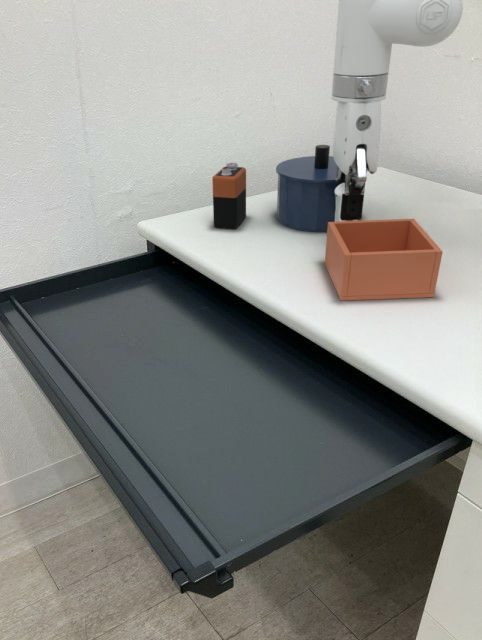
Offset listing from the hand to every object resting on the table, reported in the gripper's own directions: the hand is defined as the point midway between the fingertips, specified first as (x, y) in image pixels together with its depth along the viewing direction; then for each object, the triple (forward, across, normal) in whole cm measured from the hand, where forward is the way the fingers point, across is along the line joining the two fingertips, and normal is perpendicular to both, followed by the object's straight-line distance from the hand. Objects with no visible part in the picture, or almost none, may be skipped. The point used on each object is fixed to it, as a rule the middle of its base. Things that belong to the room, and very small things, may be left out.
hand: (346, 212), depth 94 cm
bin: (+5, -14, -2) cm, 15 cm away
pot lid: (-3, +14, +2) cm, 14 cm away
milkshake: (+5, 0, 0) cm, 5 cm away
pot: (+5, +14, +2) cm, 15 cm away
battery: (+6, +12, +18) cm, 23 cm away
